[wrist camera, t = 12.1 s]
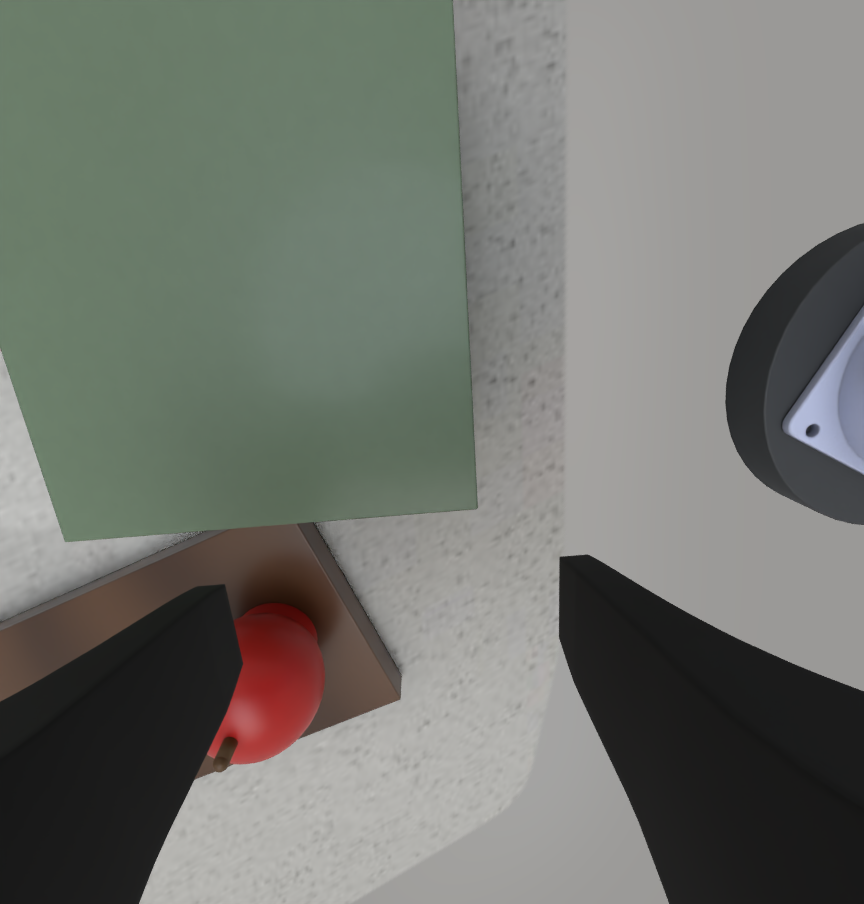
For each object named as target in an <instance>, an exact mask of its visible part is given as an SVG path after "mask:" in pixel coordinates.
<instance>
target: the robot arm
mask: <svg viewBox="0 0 864 904" xmlns="http://www.w3.org/2000/svg"><path fill="white" fill-rule="evenodd" d="M810 425H811V429H810V431H809V432H808V433H807V434H806V429H807V427H809V426H810ZM782 428H783V431H784V432H785V433H786V434H787V435H789V436H791V437H793V438H794V439H796V440H798V441H800V442H802V443H804V444H806V445H808V446H810V447H811V448H813V449H815V450H817V451H819V452H821V453H823V454H825V455H827V456H828V457H830V458H832V459H834V460H836V461H838V462H840V463H842V464H844V465H845V466H847V467H849V468H851V469H853V470H855V471H857V472H859V473H860V474H862V475H864V305H863V307H862V308H861V310H860V311H859V312H858V314H857V315H856V317H855V318H854V320H853V321H852V322H851V324H850V325H849V327H848V328H847V330H846V331H845V332H844V334H843V335H842V337H841V338H840V340H839V341H838V342H837V344H836V345H835V347H834V348H833V350H832V351H831V352H830V354H829V355H828V357H827V358H826V360H825V361H824V362H823V364H822V365H821V367H820V368H819V370H818V371H817V372H816V374H815V375H814V377H813V378H812V380H811V381H810V382H809V384H808V385H807V387H806V388H805V390H804V391H803V392H802V394H801V395H800V397H799V398H798V400H797V401H796V402H795V404H794V405H793V407H792V408H791V410H790V411H789V412H788V414H787V415H786V417H785V418H784V420H783V423H782ZM559 639H560V642H561V645H562V648H563V651H564V654H565V657H566V660H567V663H568V666H569V669H570V672H571V675H572V678H573V681H574V683H575V685H576V688H577V690H578V692H579V694H580V696H581V699H582V700H583V703H584V705H585V707H586V709H587V711H588V714H589V716H590V718H591V720H592V722H593V724H594V726H595V728H596V730H597V732H598V735H599V737H600V739H601V741H602V743H603V745H604V747H605V749H606V752H607V754H608V756H609V758H610V760H611V762H612V764H613V766H614V768H615V770H616V773H617V775H618V776H619V779H620V781H621V783H622V785H623V787H624V789H625V792H626V794H627V796H628V798H629V801H630V803H631V805H632V807H633V810H634V812H635V814H636V817H637V819H638V821H639V824H640V826H641V829H642V832H643V834H644V837H645V840H646V842H647V845H648V848H649V850H650V853H651V856H652V858H653V861H654V864H655V866H656V869H657V872H658V874H659V877H660V880H661V882H662V885H663V888H664V890H665V893H666V896H667V898H668V902H669V904H864V691H861V690H859V689H856V688H853V687H851V686H848V685H845V684H843V683H840V682H837V681H835V680H832V679H829V678H827V677H824V676H822V675H819V674H817V673H814V672H811V671H809V670H807V669H804V668H802V667H799V666H797V665H795V664H792V663H790V662H788V661H785V660H783V659H781V658H779V657H777V656H774V655H772V654H770V653H767V652H765V651H763V650H761V649H759V648H757V647H754V646H752V645H750V644H748V643H745V642H743V641H741V640H739V639H737V638H735V637H733V636H731V635H729V634H727V633H725V632H723V631H721V630H719V629H717V628H715V627H713V626H711V625H710V624H707V623H706V622H704V621H702V620H700V619H698V618H696V617H694V616H692V615H690V614H689V613H687V612H685V611H683V610H682V609H680V608H678V607H676V606H674V605H673V604H671V603H669V602H667V601H666V600H664V599H662V598H660V597H659V596H657V595H655V594H654V593H652V592H650V591H649V590H647V589H645V588H643V587H642V586H640V585H639V584H637V583H635V582H634V581H632V580H630V579H629V578H627V577H626V576H624V575H622V574H620V573H619V572H617V571H616V570H614V569H612V568H611V567H609V566H607V565H606V564H604V563H602V562H601V561H599V560H597V559H595V558H594V557H592V556H590V555H578V556H565V557H560V576H559ZM242 666H243V660H242V656H241V651H240V647H239V643H238V638H237V634H236V630H235V625H234V621H233V617H232V612H231V608H230V604H229V599H228V595H227V591H226V586H225V584H219V585H207V586H196V587H194V588H192V589H190V590H188V591H186V592H184V593H183V594H181V595H179V596H177V597H175V598H174V599H172V600H170V601H169V602H167V603H165V604H164V605H162V606H160V607H159V608H157V609H156V610H154V611H152V612H151V613H149V614H147V615H146V616H144V617H143V618H141V619H139V620H138V621H136V622H135V623H133V624H131V625H130V626H128V627H127V628H125V629H123V630H122V631H120V632H119V633H117V634H115V635H114V636H112V637H111V638H109V639H107V640H106V641H104V642H103V643H101V644H99V645H98V646H96V647H94V648H93V649H91V650H89V651H88V652H86V653H84V654H83V655H81V656H79V657H77V658H76V659H74V660H72V661H71V662H69V663H67V664H66V665H64V666H62V667H61V668H59V669H57V670H55V671H54V672H52V673H50V674H49V675H47V676H45V677H44V678H42V679H40V680H38V681H37V682H35V683H33V684H32V685H30V686H28V687H26V688H24V689H23V690H21V691H19V692H17V693H15V694H14V695H12V696H10V697H8V698H6V699H4V700H2V701H1V702H0V904H139V902H140V899H141V897H142V894H143V892H144V889H145V886H146V884H147V881H148V879H149V876H150V874H151V871H152V869H153V866H154V864H155V861H156V859H157V857H158V855H159V852H160V850H161V848H162V846H163V844H164V841H165V839H166V837H167V835H168V832H169V830H170V828H171V826H172V824H173V822H174V820H175V818H176V816H177V814H178V812H179V810H180V808H181V806H182V804H183V802H184V800H185V798H186V796H187V794H188V792H189V789H190V787H191V785H192V783H193V781H194V779H195V777H196V775H197V773H198V771H199V769H200V767H201V765H202V763H203V761H204V759H205V757H206V755H207V753H208V751H209V749H210V746H211V744H212V742H213V740H214V738H215V736H216V734H217V732H218V730H219V728H220V726H221V724H222V721H223V719H224V717H225V715H226V713H227V710H228V708H229V705H230V702H231V699H232V696H233V694H234V691H235V688H236V685H237V682H238V678H239V675H240V672H241V669H242Z"/></svg>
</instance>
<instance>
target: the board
mask: <svg viewBox="0 0 864 904" xmlns="http://www.w3.org/2000/svg"><path fill="white" fill-rule="evenodd" d="M219 584H225V586H226V591H227V595H228V599H229V604H230V608H231V612H232V617H233V620H235V619H237V618H240V617H242V616H243V615H244V614H245V613H246V612H248V611H249V610H251V609H252V608H254V607H256V606H259V605H262V604H267V603H282V604H287V605H290V606H293V607H295V608H297V609H299V610H300V611H302V612H303V613H304V614H306V615H307V616H308V617H309V619H310V620H311V621H312V623H313V625H314V627H315V629H316V632H317V639H318V640H317V644H318V646H319V648H320V651H321V653H322V657H323V661H324V667H325V685H324V691H323V696H322V700H321V702H320V705H319V708H318V710H317V713H316V714H315V716H314V718H313V720H312V722H311V723H310V725H309V726H308V728H307V729H306V730H305V731H304V733H303V734H302V735H301V736H300V737H299V738H298V739H300V738H302V737H305V736H307V735H310V734H313V733H315V732H318V731H320V730H323V729H325V728H328V727H331V726H333V725H336V724H338V723H341V722H343V721H346V720H348V719H351V718H354V717H356V716H359V715H361V714H364V713H366V712H369V711H372V710H374V709H377V708H379V707H382V706H384V705H387V704H390V703H392V702H395V701H397V700H400V698H401V678H402V676H401V674H400V672H399V671H398V669H397V667H396V665H395V664H394V662H393V660H392V659H391V657H390V655H389V653H388V652H387V650H386V648H385V646H384V645H383V643H382V641H381V640H380V638H379V636H378V634H377V633H376V631H375V629H374V627H373V626H372V624H371V622H370V620H369V619H368V617H367V615H366V614H365V612H364V610H363V608H362V607H361V605H360V603H359V601H358V600H357V598H356V596H355V595H354V593H353V591H352V589H351V588H350V586H349V584H348V582H347V581H346V579H345V577H344V575H343V574H342V572H341V570H340V569H339V567H338V565H337V563H336V562H335V560H334V558H333V556H332V555H331V553H330V551H329V550H328V548H327V546H326V544H325V543H324V541H323V539H322V537H321V536H320V534H319V532H318V530H317V529H316V527H315V525H314V524H313V522H310V523H297V524H285V525H272V526H260V527H247V528H235V529H223V530H210V531H205V532H203V533H201V534H199V535H196V536H194V537H192V538H190V539H187V540H185V541H183V542H181V543H178V544H176V545H174V546H172V547H169V548H167V549H165V550H163V551H160V552H158V553H156V554H154V555H151V556H149V557H147V558H145V559H142V560H140V561H138V562H136V563H133V564H131V565H129V566H127V567H124V568H122V569H120V570H118V571H115V572H113V573H111V574H109V575H106V576H104V577H102V578H100V579H97V580H95V581H93V582H91V583H88V584H86V585H84V586H82V587H79V588H77V589H75V590H73V591H71V592H68V593H66V594H64V595H62V596H59V597H57V598H55V599H53V600H50V601H48V602H46V603H44V604H41V605H39V606H37V607H35V608H32V609H30V610H28V611H26V612H23V613H21V614H19V615H17V616H14V617H12V618H10V619H8V620H5V621H3V622H1V623H0V702H1V701H2V700H4V699H6V698H8V697H10V696H12V695H14V694H15V693H17V692H19V691H21V690H23V689H24V688H26V687H28V686H30V685H32V684H33V683H35V682H37V681H38V680H40V679H42V678H44V677H45V676H47V675H49V674H50V673H52V672H54V671H55V670H57V669H59V668H61V667H62V666H64V665H66V664H67V663H69V662H71V661H72V660H74V659H76V658H77V657H79V656H81V655H83V654H84V653H86V652H88V651H89V650H91V649H93V648H94V647H96V646H98V645H99V644H101V643H103V642H104V641H106V640H107V639H109V638H111V637H112V636H114V635H115V634H117V633H119V632H120V631H122V630H123V629H125V628H127V627H128V626H130V625H131V624H133V623H135V622H136V621H138V620H139V619H141V618H143V617H144V616H146V615H147V614H149V613H151V612H152V611H154V610H156V609H157V608H159V607H160V606H162V605H164V604H165V603H167V602H169V601H170V600H172V599H174V598H175V597H177V596H179V595H181V594H183V593H184V592H186V591H188V590H190V589H192V588H194V587H196V586H207V585H219ZM213 761H214V758H212V757H210V756H209V755H206V757H205V759H204V761H203V763H202V765H201V767H200V769H199V771H198V773H197V775H196V777H195V779H197V778H200V777H202V776H205V775H207V774H210V773H213V772H215V770H214V769H213ZM231 765H233V764H231V763H229V766H231ZM195 779H194V780H195Z"/></svg>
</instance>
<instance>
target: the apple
mask: <svg viewBox="0 0 864 904" xmlns="http://www.w3.org/2000/svg"><path fill="white" fill-rule="evenodd" d="M233 621H234V625H235V630H236V634H237V638H238V643H239V647H240V651H241V656H242V660H243V666H242V669H241V672H240V675H239V678H238V682H237V685H236V688H235V691H234V694H233V696H232V699H231V702H230V705H229V708H228V710H227V713H226V715H225V717H224V719H223V721H222V724H221V726H220V728H219V730H218V732H217V734H216V736H215V738H214V740H213V742H212V744H211V746H210V749H209V751H208V753H207V755H209V756H210V757H212V758H214V761H213V769H214V770H215V771H216V772H223V771H224V770H226V769H227V767H228V766H229V763H231V764H250V763H256V762H260V761H263V760H266V759H269V758H271V757H273V756H275V755H277V754H279V753H281V752H282V751H283V750H285V749H286V748H288V747H289V746H291V745H292V744H293V743H294V742H295V741H296V740H297V739H298V738H299V737H300V736H301V735H302V734H303V733H304V731H305V730H306V729H307V728H308V726H309V725H310V723H311V722H312V720H313V718H314V716H315V714H316V713H317V710H318V708H319V705H320V702H321V700H322V696H323V691H324V685H325V667H324V661H323V657H322V653H321V651H320V648H319V646H318V644H317V640H318V639H317V632H316V629H315V627H314V625H313V623H312V621H311V620H310V619H309V617H308V616H307V615H306V614H304V613H303V612H302V611H300V610H299V609H297V608H295V607H293V606H290V605H287V604H282V603H267V604H262V605H259V606H256V607H254V608H252V609H251V610H249V611H248V612H246V613H245V614H244V615H243V616H242V617H240V618H237V619H235V620H233Z"/></svg>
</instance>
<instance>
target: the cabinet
mask: <svg viewBox="0 0 864 904" xmlns="http://www.w3.org/2000/svg"><path fill="white" fill-rule="evenodd" d="M0 348H1V351H2V354H3V357H4V360H5V363H6V366H7V369H8V372H9V375H10V378H11V381H12V384H13V387H14V390H15V393H16V396H17V399H18V402H19V405H20V408H21V411H22V414H23V417H24V420H25V423H26V426H27V429H28V432H29V435H30V438H31V441H32V444H33V447H34V450H35V453H36V456H37V459H38V462H39V465H40V468H41V471H42V474H43V477H44V480H45V483H46V486H47V489H48V492H49V495H50V498H51V501H52V504H53V507H54V510H55V513H56V516H57V519H58V522H59V525H60V528H61V531H62V534H63V537H64V540H65V542H73V541H85V540H98V539H110V538H123V537H135V536H148V535H160V534H173V533H185V532H198V531H210V530H223V529H235V528H247V527H260V526H272V525H285V524H297V523H310V522H322V521H335V520H347V519H360V518H372V517H385V516H397V515H410V514H422V513H435V512H447V511H459V510H472V509H477V508H478V503H477V483H476V462H475V442H474V421H473V401H472V381H471V360H470V340H469V320H468V299H467V279H466V259H465V238H464V218H463V198H462V177H461V157H460V136H459V116H458V96H457V75H456V55H455V35H454V14H453V0H0Z"/></svg>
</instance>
